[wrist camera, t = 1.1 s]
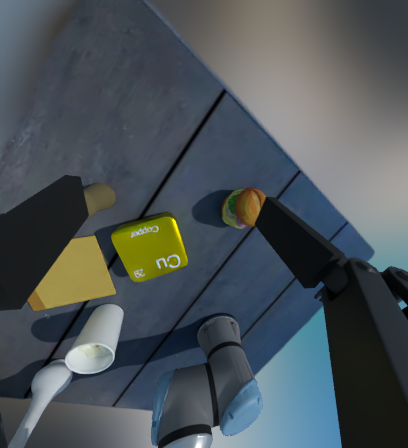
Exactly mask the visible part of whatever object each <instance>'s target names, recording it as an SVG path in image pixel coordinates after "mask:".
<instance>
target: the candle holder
mask: <svg viewBox="0 0 408 448" xmlns="http://www.w3.org/2000/svg"><path fill="white" fill-rule="evenodd" d="M123 316H124V313H123V310H122V309H121V308H120V307H119V306H117V305H114V304H103V305H101V306H99V307H97V308H96V309H95V310H94V311H93V313H92V314H91V316H90V318H89V319H88V321H87V322H86V324H85V326H84V327H83V329H82V331H81V332H80V334H79V336H78V337H77V339H76V340H75V342H74V344H73V345H72V347H71V349H70V350H69V352H68V353H67V355H66V357H65V364H66V366H67V367H68V368H69V369H70V370H72V371H74V372H76V373H80V374H93V373H97V372H100V371H103V370H105V369H106V368H108V367H109V366H110V365H111V364H112V362H113V361H114V357H115V351H116V347H117V343H118V339H119V334H120V330H121V326H122V321H123Z"/></svg>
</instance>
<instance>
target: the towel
mask: <svg viewBox="0 0 408 448" xmlns="http://www.w3.org/2000/svg"><path fill="white" fill-rule="evenodd" d="M113 294H116V291H115V288H114V285H113V283H112V280H111V277H110V274H109V272H108V269H107V266H106V263H105V261H104V258H103V255H102V253H101V250H100V247H99V244H98V242H97V239H96V236H95V235H92V236H86V237H80V238H73V239H72V240H71V241H70V242H69V244H68V245H67V246H66V248H65V249H64V250H63V252H62V253H61V255H60V256H59V257H58V259H57V260H56V261H55V263H54V264H53V266H52V267H51V268H50V270H49V271H48V272H47V274H46V275H45V276H44V278H43V279H42V281H41V282H40V283H39V285H38V286H37V287H36V289H35V290H34V292H33V293H32V294H31V296H30V297H29V298H28V300H27V301H28V302H29V304H30V306H31V307H32V309H33V310H34V312H35V311H39V310H44V309H48V308H53V307H57V306H62V305H67V304H71V303H76V302H81V301H85V300H90V299H95V298H99V297H104V296H109V295H113Z"/></svg>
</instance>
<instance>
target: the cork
mask: <svg viewBox="0 0 408 448" xmlns="http://www.w3.org/2000/svg"><path fill="white" fill-rule="evenodd" d="M83 191H84V195H85V199H86V204H87V208H88V212H89V216H88V218H90V217H92V216H93V215H95V213H96V212H97V211H100V210H103V209H107V208H110V207H111V206H112V205H113V204H114V203H115V199H116V198H115V193H114V191H113V190H112V188H111V187H109V186H108V185H106V184H103V183H94V184H92V185H90V186H88V187H87V188H85V189H83ZM88 218H87V219H88Z"/></svg>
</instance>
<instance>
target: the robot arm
mask: <svg viewBox="0 0 408 448" xmlns="http://www.w3.org/2000/svg"><path fill="white" fill-rule="evenodd" d="M88 216H89V212H88V208H87V204H86V199H85V195H84V191H83V186H82V182H81V177H78V176H69V175H65V176H63V177H62V178H60V179H59V180H57V181H55V182H54V183H52V184H51V185H49V186H48V187H46V188H45V189H43V190H41V191H40V192H38V193H37V194H35V195H34V196H32V197H31V198H29V199H27V200H26V201H24V202H23V203H21V204H20V205H18V206H17V207H15V208H13V209H12V210H10V211H9V212H7V213H6V214H0V311H1V310H15V309H21V308H22V307H23V305H24V304H25V303H26V301H27V300H28V298H29V297H30V296H31V294H32V293H33V292H34V290H35V289H36V287H37V286H38V285H39V283H40V282H41V281H42V279H43V278H44V276H45V275H46V274H47V272H48V271H49V270H50V268H51V267H52V266H53V264H54V263H55V261H56V260H57V259H58V257H59V256H60V255H61V253H62V252H63V250H64V249H65V248H66V246H67V245H68V244H69V242H70V241H71V240H72V238H73V237H74V235H75V234H76V233H77V231H78V230H79V229H80V227H81V226H82V224H83V223H84V222H85V220H86V219H87V218H88ZM255 226H256V227H257V228H258V230H259V231H260V232H261V233H262V235H263V236H264V237H265V239H266V240H267V241H268V242H269V244H270V245H271V246H272V247H273V249H274V250H275V251H276V253H277V254H278V255H279V256H280V258H281V259H282V260H283V262H284V263H285V264H286V265H287V267H288V268H289V269H290V270H291V272H292V273H293V274H294V276H295V277H296V278H297V279H298V281H299V282H300V283H301V285H302V286H303V287H304V288H315V287H316V286H317V285H318V284H319V282H320V281H322V282H323V283H324V284H325V285H324V286H323V287H322V288H321V289H320V290H319V292H318V293H317V294H316V295H315V296H314V298H315V299H317V298H318V297H319V296H322V298H321V299H320V300H319V301H321V302H323V306H324V313H325V321H326V329H327V337H328V344H329V352H330V360H331V367H332V374H333V383H334V390H335V398H336V405H337V413H338V420H339V428H340V436H341V444H342V448H408V306H407V307H406V308H404V309H402V310H401V308H400V307H399V305H398V303H399V302H401V301H402V300H403V301H404V302H405V303H406V304H407V305H408V272H407V271H404V270H403V269H399V268H396V267H392V266H391V267H388V268H387V269H386V270H385V271H383V272H378V270H377V269H376V268H375V267H373V266H372V265H370V264H369V263H367V262H365V261H363V260H361V259H358V258H353V257H352V258H350V259H348V258H347V257H345V256H344V255H345V254H344V253H343V252H342V251H340V250H339V249H338V248H337V247H335V246H334V245H333V244H332V243H330V242H329V241H328V240H327V239H325V238H324V237H323V236H322V235H320V234H319V233H318V232H317V231H315V230H314V229H313V228H312V227H310V226H309V225H308V224H307V223H305V222H304V221H303V220H302V219H300V218H299V217H298V216H297V215H295V214H294V213H293V212H292V211H290V210H289V209H288V208H287V207H285V206H284V205H283V204H282V203H280V202H279V201H278V200H277V199H275V198H274V197H266V198H265V200H264V203H263V205H262V207H261V210H260V212H259V214H258V217H257V219H256V221H255ZM197 339H198V343H199V345H200V347H201V348H202V350H203V352H204V354H205V356H206V358H207V362H208V363H204V364H199V365H195V366H190V367H185V368H181V369H175V370H173V371H170V372H166V373H164V374H163V375H162V376H161V377H160V379H159V381H158V384H157V388H156V393H155V399H154V406H153V415H152V420H153V422H152V430H151V441H152V444H153V445H155V446H158V448H210V446H211V443H212V441H213V438H212V432H211V428H212V427H215V426H219V425H220V430H221V431H222V433H223V435H225V436H229V435H230V436H232V435H235V434H237V433H240V432H241V431H243V430H244V429H246V428H247V427H249V426H250V425H251V424H252V423H253V422H254V421H255V420H256V419H257V417H258V416H259V414H260V412H261V410H262V405H263V404H262V403H263V401H262V397H261V394H260V391H259V388H258V386H257V381H256V379H255V378H254V375H253V373H252V370H251V368H250V366H249V363H248V361H247V358H246V356H245V353H244V351H243V349H242V346H241V341H240V332H239V325H238V323H237V321H236V319H235V318H234V317H233V316H232V315H230V314H225V313H220V314H215V315H212V316H210V317H208V318H207V319H205V320H204V321H203V322H202V323H201V324H200V325H199V327H198V329H197ZM0 448H8V447H7V442H6V438H5V433H4V428H3V424H2V419H1V414H0Z"/></svg>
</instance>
